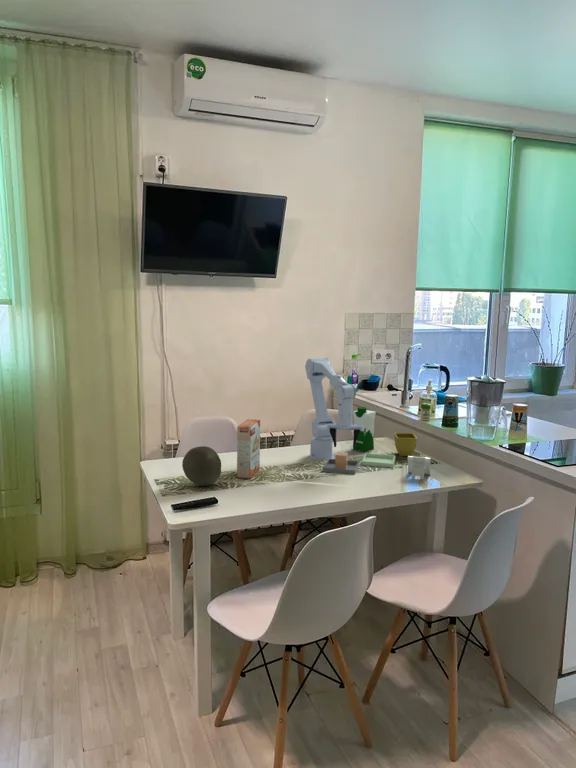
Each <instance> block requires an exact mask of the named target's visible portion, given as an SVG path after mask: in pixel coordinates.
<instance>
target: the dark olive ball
mask: <svg viewBox="0 0 576 768" xmlns="http://www.w3.org/2000/svg"><path fill="white" fill-rule="evenodd" d="M182 471H183V473H184V475H185V476H186V478H187V479H188V480H189V481H190V482H192V483H193V484H195V485H197V486H202V487H207V486H211V485H213V484H215V483H216V482H217V481H218V480H219V479H220V478H221V477H220V476H221V474H222V461H221V459H220V456H219V454H218V453H217V452H216V451H215V450H214V449H213V448H211V447H210V446H206V445H204V446H196V447H192V448H191V449H189V450H188V451H187V452H186V454H185V455H184V456H183V459H182Z"/></svg>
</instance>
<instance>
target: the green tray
mask: <svg viewBox="0 0 576 768" xmlns="http://www.w3.org/2000/svg"><path fill="white" fill-rule="evenodd" d="M395 463H396V454H385V453H373V452H371V453H369V452H364V455H363V458H362V460H361V466H369V467H370V466H371V467H378V468H379V467H381V468H382V467H383V468H391V469H392V470H393V469H394V467H395Z"/></svg>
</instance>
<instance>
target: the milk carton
mask: <svg viewBox="0 0 576 768" xmlns="http://www.w3.org/2000/svg"><path fill="white" fill-rule="evenodd" d="M376 414H377V411H376V410H375V411H373V410H368V409H367V407H365V406H358V407H357V410H354V411H352V417H353V424H355V425H363V431H360V433H359V435H358V438H357V440H356V444H355V448H353V447H352V450H354V449H355V450H354V451H358V450H360V451H359V452H362V451H364V452H363V453H367V452H369V450H370V451H373V450H375V444H374V438H375V437H374V436H375V433H374V432H375V418H376ZM353 441H354V439H353ZM366 451H367V452H366Z"/></svg>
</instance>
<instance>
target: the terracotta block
mask: <svg viewBox="0 0 576 768" xmlns="http://www.w3.org/2000/svg"><path fill="white" fill-rule="evenodd" d="M334 459H335V468H338V469H347V467H348V460H349V453H348V452H342V451H340V452H339V451H337V452H336V453H335V454H334Z"/></svg>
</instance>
